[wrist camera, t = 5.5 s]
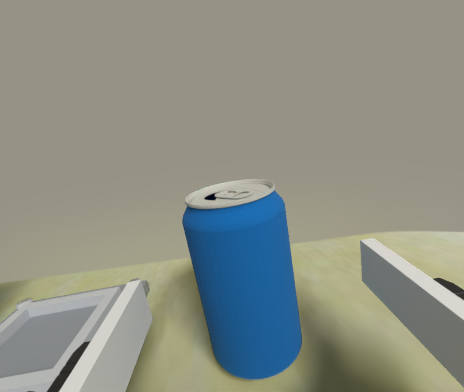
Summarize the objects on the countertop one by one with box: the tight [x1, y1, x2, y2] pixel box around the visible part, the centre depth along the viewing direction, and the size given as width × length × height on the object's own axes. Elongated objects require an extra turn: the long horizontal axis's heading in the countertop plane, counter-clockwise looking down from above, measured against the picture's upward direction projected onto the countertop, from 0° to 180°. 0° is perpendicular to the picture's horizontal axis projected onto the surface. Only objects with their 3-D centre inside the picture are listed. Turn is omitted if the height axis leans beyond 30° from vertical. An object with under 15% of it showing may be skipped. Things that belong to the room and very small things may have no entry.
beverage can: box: [182, 179, 302, 380], centre depth 17 cm, size 6×6×12 cm
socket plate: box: [0, 279, 150, 392], centre depth 21 cm, size 14×14×2 cm
